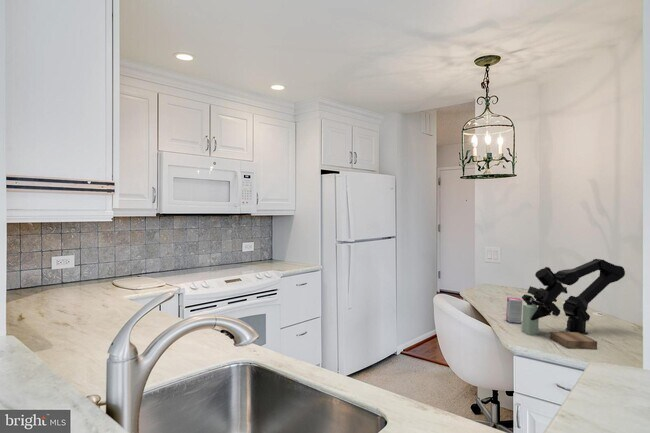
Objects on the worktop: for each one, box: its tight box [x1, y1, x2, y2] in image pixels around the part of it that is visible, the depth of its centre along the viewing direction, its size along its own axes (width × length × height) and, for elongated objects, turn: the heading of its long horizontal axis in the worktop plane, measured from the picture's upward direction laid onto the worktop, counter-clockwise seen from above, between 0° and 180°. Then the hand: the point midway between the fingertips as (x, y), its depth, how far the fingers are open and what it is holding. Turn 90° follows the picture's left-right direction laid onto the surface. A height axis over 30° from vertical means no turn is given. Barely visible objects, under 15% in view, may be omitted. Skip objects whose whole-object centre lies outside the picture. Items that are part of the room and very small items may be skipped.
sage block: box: [521, 304, 540, 336], centre depth 179 cm, size 4×4×12 cm
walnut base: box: [549, 331, 598, 350], centre depth 167 cm, size 12×12×3 cm
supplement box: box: [505, 296, 523, 325], centre depth 197 cm, size 6×6×12 cm
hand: (527, 318), depth 179 cm, fingers closed on sage block, 4 cm apart
